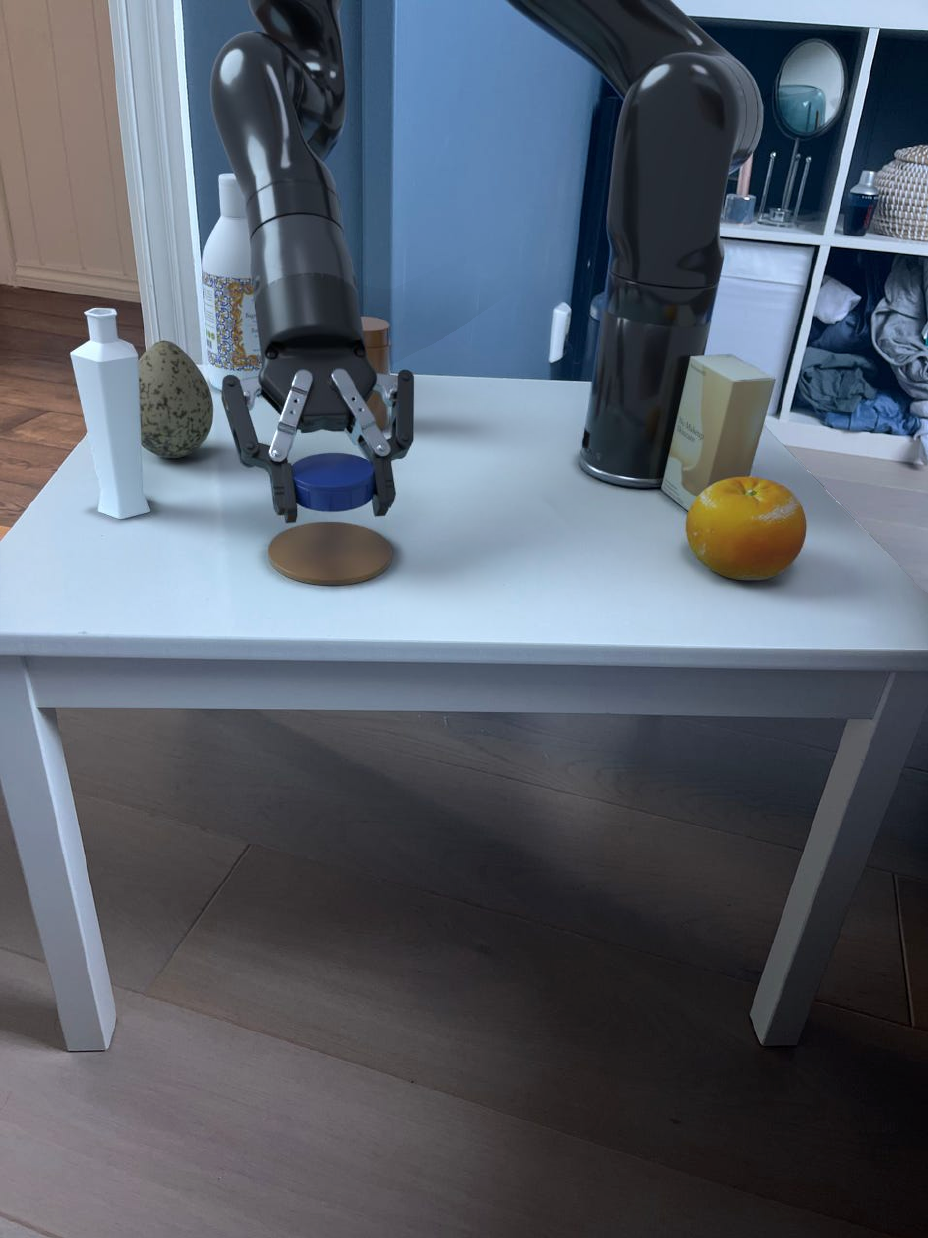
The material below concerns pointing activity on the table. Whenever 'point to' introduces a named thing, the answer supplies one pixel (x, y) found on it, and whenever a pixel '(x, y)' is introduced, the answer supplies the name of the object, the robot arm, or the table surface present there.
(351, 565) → the coaster
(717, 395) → the cosmetic box
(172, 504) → the table surface
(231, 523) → the table surface
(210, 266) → the bath foam
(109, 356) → the perfume bottle
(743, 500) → the fruit
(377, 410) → the jar
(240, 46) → the robot arm
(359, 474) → the lid
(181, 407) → the decorative egg
